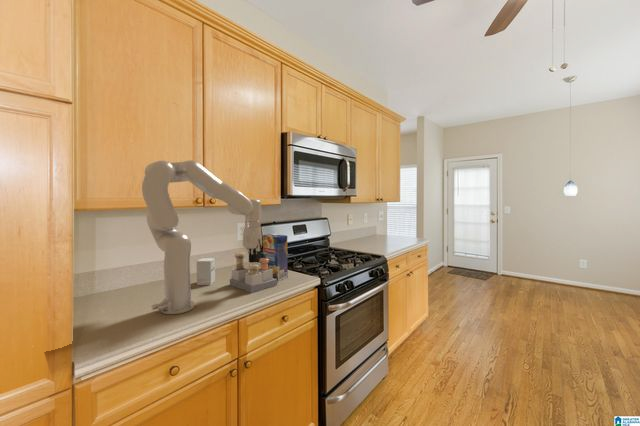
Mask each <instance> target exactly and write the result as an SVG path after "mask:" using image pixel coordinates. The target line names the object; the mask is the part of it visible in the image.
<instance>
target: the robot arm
mask: <svg viewBox="0 0 640 426" xmlns="http://www.w3.org/2000/svg"><path fill="white" fill-rule="evenodd" d="M183 182H184V183H185V182H189V183H191V184H192V185H193V186H195V187H196V188H197V189H199V190H200V191H201V192H203V193H204V194H205V195H207V196H208V197H210V198H213V199H215V200H219V201H222V202H224V203H225V204H227V206H226V208H227V211H228V212H229V213H230V214H232V215H235V216H236V215H237V216H238V215H239V216H244V227H243V228H244V229H243V231H242V247H243V248H245V249H246V250H247V253H248V262H249V263H252V264H253V263H256V262H257V254H258V252H261V248H262V247H263V235H262V234H263V233H262V226H261V225H262V222H261V221H262V202H261V200H260V199H255V198H254V199H249V198H248V197H247V196H245V194H243V193H242V192H240V191H239V190H237V189H236V188H235V187H233V186H231V185H229V184H228V183H226V182H224V181H223V180H221V179H219V178H218V177H217V176H216V175H215V174H213V173H212V172H211V171H210V170H208V169H207V168H206V167H204V165H202V164H201V163H199V162H198V161H196V160H193V159H192V160H191V159H189V160H185V161H180V162H177V161H176V162H170V161H167V160H158V161H154V162H152V163H149V164H148V165H147V166H146V167H145V169H144V178H143V181H142V183H141V193H142V198H143V200H144V203H145V205H146V208H147V210H148V212H147V215H146V222H147V225H148V228H149V230H150V233H151V234H152V237H153V239H154V241H155V243H156V245H157V247H158V248H159V249H160V250H161V251H162V252H164V257H163V274H164V275H163V276H164V277H163V278H164V280H163V281H164V298H162V301H161V302H159V303H155V304H152V305H151V310H152V311H154V310H157V311H160V312H161V313H162V314H164V315H179V314H180V315H181V314H184V313H187V312H190V311H192V310H193V309H195V307H196V302H195V301H193V300H192V293H191V290H192V287H191V251H192V242H191V240H190V237H189V236H188V235H186V234H185V233H183V232H180V231H178V228H177V227H178V225H179V216H178V213H177V212H176V209H175V206H174V204H173V202H172V200H171V197H170V194H169V184H171V183H183Z"/></svg>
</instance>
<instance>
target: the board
mask: <svg viewBox="0 0 640 426" xmlns="http://www.w3.org/2000/svg"><path fill="white" fill-rule="evenodd" d="M257 272H258V274H256V275H250V271H249V268H247V267H244V270H240V271H238V270H237V269H236V268H232V269H231V278H229V286H233V287H235V288H237V289H240V290H243V291H244V292H248V293H250V294H252V293H256V292H259V291H263V290H265V289H269V288H272V287H276V286H278V281H277V279H274V278H273V269H269V268H268V270H266V271H261V268H259V269H257Z"/></svg>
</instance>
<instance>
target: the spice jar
mask: <svg viewBox="0 0 640 426" xmlns="http://www.w3.org/2000/svg"><path fill="white" fill-rule="evenodd" d="M259 267H260V266H259V264H253V263H252V264H249V265H248V271H249V272H250V275H256V274H258V272H257V269H260V268H259Z"/></svg>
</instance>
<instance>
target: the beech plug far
mask: <svg viewBox="0 0 640 426" xmlns="http://www.w3.org/2000/svg"><path fill="white" fill-rule="evenodd" d="M245 254H246V253H245V252H235V253H234V258H236V259H235V260H236V262H235V263H236V266H235V267H236V269H237V270H238V271H240V270H244V268H245V267H244V266H245V265H244V263H245V262H244V258H245V256H246V255H245Z"/></svg>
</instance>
